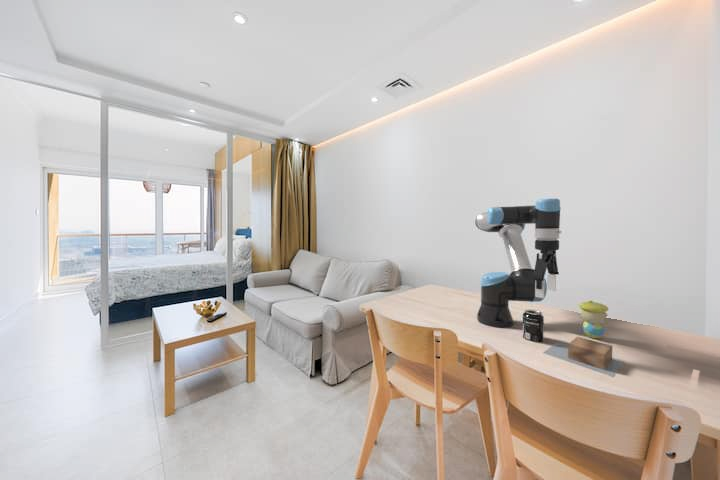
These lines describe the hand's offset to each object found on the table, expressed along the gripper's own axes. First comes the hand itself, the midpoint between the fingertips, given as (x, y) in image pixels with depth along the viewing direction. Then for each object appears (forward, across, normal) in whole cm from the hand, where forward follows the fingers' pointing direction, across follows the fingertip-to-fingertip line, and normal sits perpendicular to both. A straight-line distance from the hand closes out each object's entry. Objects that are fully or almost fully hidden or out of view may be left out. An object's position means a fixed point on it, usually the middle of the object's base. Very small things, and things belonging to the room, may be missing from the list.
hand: (545, 293), depth 100 cm
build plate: (+19, -7, -13) cm, 24 cm away
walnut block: (+18, -7, -15) cm, 24 cm away
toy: (+20, +18, -11) cm, 29 cm away
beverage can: (+19, -3, +3) cm, 20 cm away
